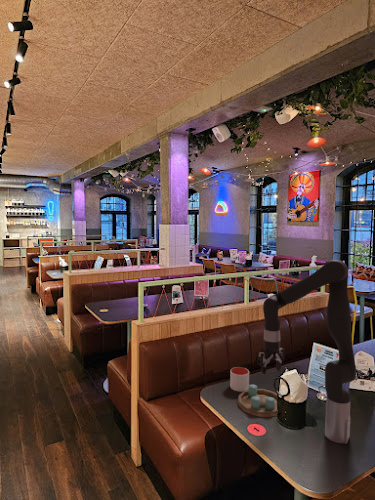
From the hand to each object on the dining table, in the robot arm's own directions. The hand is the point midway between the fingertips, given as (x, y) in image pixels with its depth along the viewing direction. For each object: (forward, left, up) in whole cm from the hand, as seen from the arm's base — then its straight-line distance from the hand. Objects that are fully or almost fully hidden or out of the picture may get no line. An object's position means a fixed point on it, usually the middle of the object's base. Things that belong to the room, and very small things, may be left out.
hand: (271, 371), depth 163 cm
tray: (+6, -3, -20) cm, 21 cm away
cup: (+22, -12, -20) cm, 32 cm away
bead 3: (0, 0, -19) cm, 19 cm away
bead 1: (+12, -7, -19) cm, 24 cm away
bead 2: (+6, +3, -19) cm, 20 cm away
